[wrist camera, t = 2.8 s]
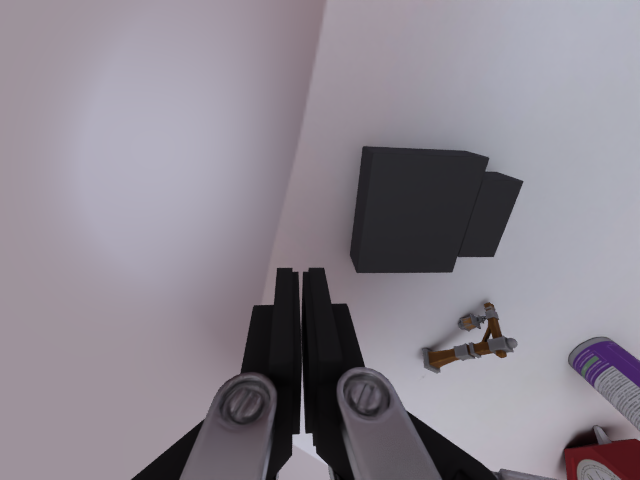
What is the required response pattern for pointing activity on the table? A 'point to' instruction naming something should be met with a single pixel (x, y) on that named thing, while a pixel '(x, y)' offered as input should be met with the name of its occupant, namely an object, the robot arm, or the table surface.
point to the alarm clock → (604, 459)
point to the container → (611, 374)
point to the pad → (427, 209)
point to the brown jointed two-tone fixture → (463, 352)
